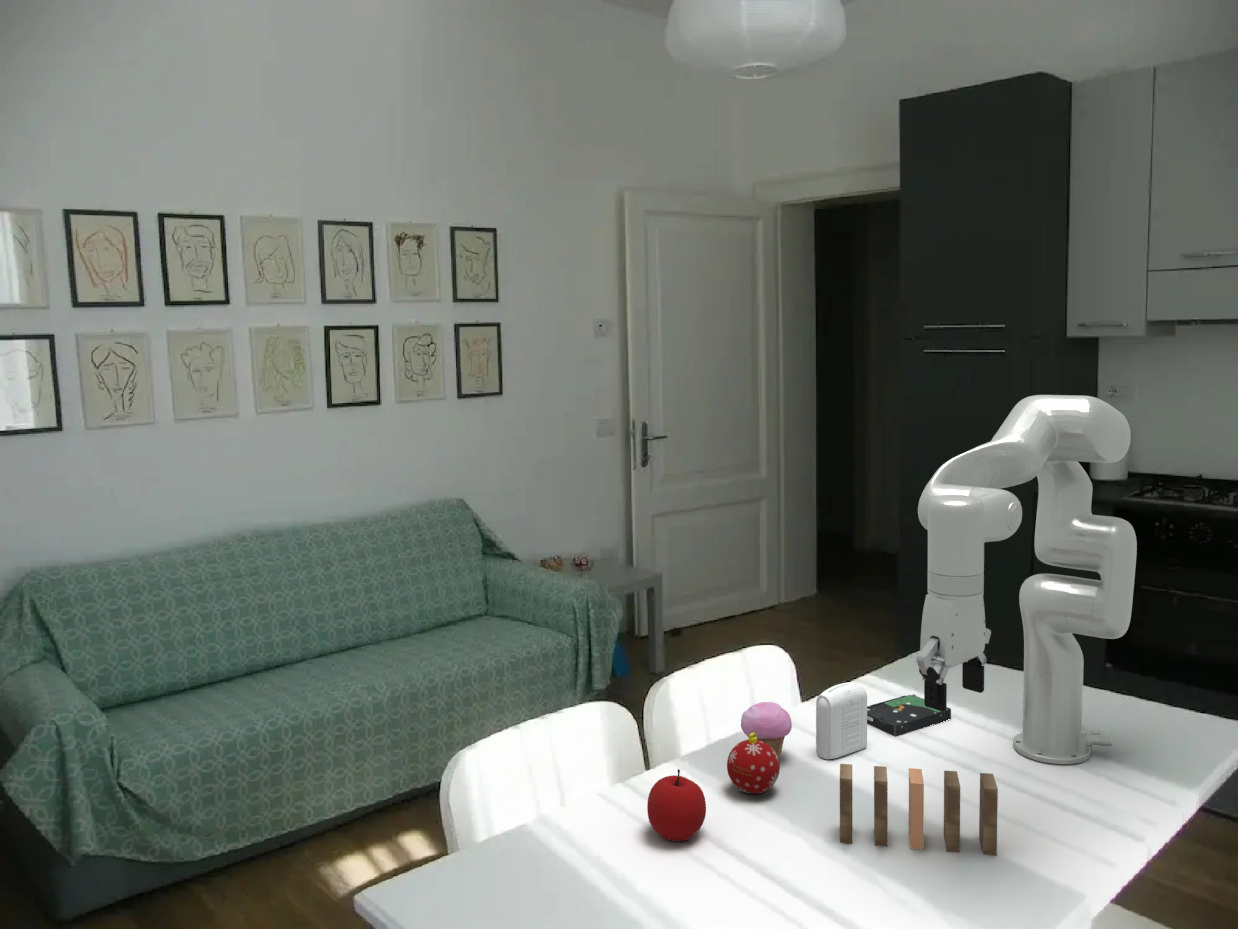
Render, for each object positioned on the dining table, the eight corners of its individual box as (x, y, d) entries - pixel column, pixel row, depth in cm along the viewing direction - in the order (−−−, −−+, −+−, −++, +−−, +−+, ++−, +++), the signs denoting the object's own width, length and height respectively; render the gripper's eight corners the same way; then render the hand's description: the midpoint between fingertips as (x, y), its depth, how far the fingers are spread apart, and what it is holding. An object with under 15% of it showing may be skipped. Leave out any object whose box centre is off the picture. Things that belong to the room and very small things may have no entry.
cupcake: (790, 748, 179) (789, 695, 178) (793, 769, 171) (793, 713, 170) (740, 748, 180) (739, 695, 179) (741, 768, 172) (740, 713, 170)
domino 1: (852, 827, 150) (852, 764, 149) (852, 843, 146) (852, 779, 144) (840, 826, 151) (840, 763, 150) (839, 842, 146) (839, 778, 145)
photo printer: (853, 740, 182) (852, 675, 180) (870, 748, 178) (870, 682, 177) (812, 755, 176) (811, 688, 175) (829, 763, 173) (829, 695, 171)
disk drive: (896, 740, 183) (952, 721, 190) (896, 726, 182) (952, 707, 190) (856, 722, 192) (911, 705, 199) (856, 708, 191) (911, 691, 199)
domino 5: (991, 838, 146) (993, 773, 145) (996, 855, 141) (997, 789, 140) (979, 837, 146) (980, 773, 145) (983, 854, 141) (984, 788, 140)
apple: (637, 827, 153) (635, 765, 151) (689, 814, 156) (688, 754, 155) (663, 855, 144) (661, 790, 143) (718, 841, 148) (716, 777, 146)
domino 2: (886, 829, 149) (886, 766, 148) (887, 846, 144) (887, 781, 143) (874, 828, 150) (874, 766, 148) (874, 845, 145) (874, 780, 144)
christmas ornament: (716, 789, 164) (715, 732, 163) (754, 774, 169) (753, 718, 168) (752, 808, 157) (752, 748, 156) (790, 792, 162) (790, 734, 161)
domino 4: (956, 835, 147) (956, 771, 146) (959, 852, 142) (960, 786, 141) (943, 834, 147) (944, 770, 146) (946, 851, 143) (947, 785, 141)
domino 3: (921, 832, 148) (921, 769, 147) (923, 849, 143) (923, 784, 142) (908, 831, 149) (908, 768, 147) (910, 848, 144) (910, 783, 142)
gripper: (964, 567, 148) (963, 677, 150) (896, 590, 137) (896, 708, 139) (1012, 575, 142) (1010, 690, 145) (944, 600, 131) (944, 723, 134)
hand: (954, 699), depth 142 cm, fingers open, 9 cm apart
